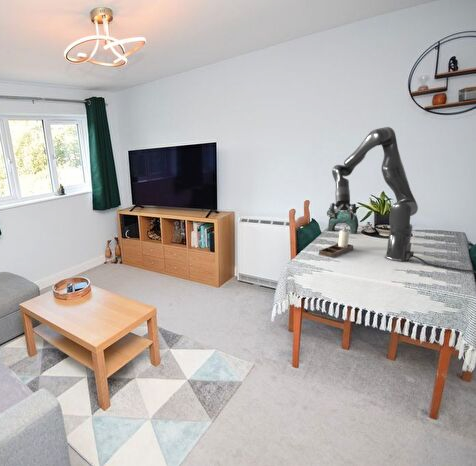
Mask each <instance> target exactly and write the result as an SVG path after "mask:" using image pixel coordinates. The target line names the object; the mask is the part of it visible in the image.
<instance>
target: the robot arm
mask: <svg viewBox="0 0 476 466" xmlns="http://www.w3.org/2000/svg"><path fill="white" fill-rule="evenodd" d="M377 146H381V147H382V151H383V159H382V162H381V174H382V177H383V180H384V182H385V184H386V185H387V186H388V187H389V189H391V190H392V192H393V193H394V196H395V199H396V202H394V203H393V204H392V205H391V206H390V209H389V218H388V223H389V224H388V225H389V232H388V233H389V234H388V241H387V246H386V254H385V258H386V259H388V260H391V261H395V262H406V261H408V260H410V259H411V258H415V259H417V260H420V261H421V262H422V263H423V264H425V265H427V266H431V267H438V268H443V269H448V270H453V271H460V272H469V273H474V274H476V270H473V269H463V268H455V267H450V266H445V265H439V264H432V263H430V262H426V261H425V260H424V259H423V258H420V257H419V256H416V255H415V252H414V251H411V249H412V242H411V239H412V234H413V233H412V232H413V227H414V226H413V224H412V223H411V217H412V216H414V215H416V214H417V212H418V210H419V205H418V202H417V201H416V199H415V197H414V195H413V191H412V190H411V187H410V183H409V181H408V178H407V173H406V170H405V166H404V165H403V164H404V163H403V161H402V158H401V154H400V151H399V146H398V141H397V136H396V132H395V130H394V129H393V128H392V127H390V126H384V127H379V128H376V129H373V130H371V131H370V132H369V133H368V134H367V135H366V137H365V138H364V139H363V141H362V142H361V143H360V144H359V146H358V147H357V148H356V149H355V150H354V151H353V152H351V154H350V155H349V156H348V157H347V158H346V159H345V160H344V161H343V164H336V165H334V166H333V167H332V170H331V173H332V177H333V180H334V182H335V202H332V203H330V206H329V208H330V213H333V214H334V219H335V220H336V219H337V212H338V211H346V212H348V213H349V214H350V215H349V220H352V219H353V214H355V213H356V214H357V204H356V203H351V189H350V180H349V179H348V178H345V177H348V176H351V175H352V173H353V171H354V169H356V167H357V166H358V165H359V164H361V163H362V161H364V159H365V158H366V155H367V154H368V153H369V152H370V151H371V150H372V149H374V148H376V147H377ZM334 209H336V210H335V211H334Z"/></svg>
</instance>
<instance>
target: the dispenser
mask: <svg viewBox="0 0 476 466" xmlns="http://www.w3.org/2000/svg"><path fill="white" fill-rule="evenodd" d="M339 226H340V227H343V228H341V229H340V230H339V233H338V243H337V244H338V246H340V247H344V248H347V247H348V244H349V240H350V239H349V238H350V230H348V227H349V225H348V224H344V223H340V225H339Z"/></svg>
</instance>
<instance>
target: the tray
mask: <svg viewBox="0 0 476 466" xmlns="http://www.w3.org/2000/svg"><path fill="white" fill-rule="evenodd" d="M353 250H354V245H353V244H349V243H348V247H347V248H344V247H340V246H338V243H335V244H332V245H330V246H327V247H324V248H322V249H319V251H318V255H320V256H324V257H328V258H335V257H337V256H340V255H343V254H346V253H348V252H350V251H353Z"/></svg>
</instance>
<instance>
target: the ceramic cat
mask: <svg viewBox="0 0 476 466" xmlns="http://www.w3.org/2000/svg"><path fill="white" fill-rule="evenodd" d="M335 210H336V208H334V211H335ZM349 215H350V214H349V213H348V212H346V211H340V210H339V211H338V212H337V219H336V220H335V219H334V214H333V213H330V207H329V208H328V210H327V211H326V216H327V217H329V218H328V224H327V231H328V232H333V231H336V230H335V229H336V226H337V225H338V224H344V225H348V227H349V229H350V234H353V235H356V234H357V233H358V229H359V219H358V216H357V212H356V213H354V214H353V219H352V220H349Z"/></svg>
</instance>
